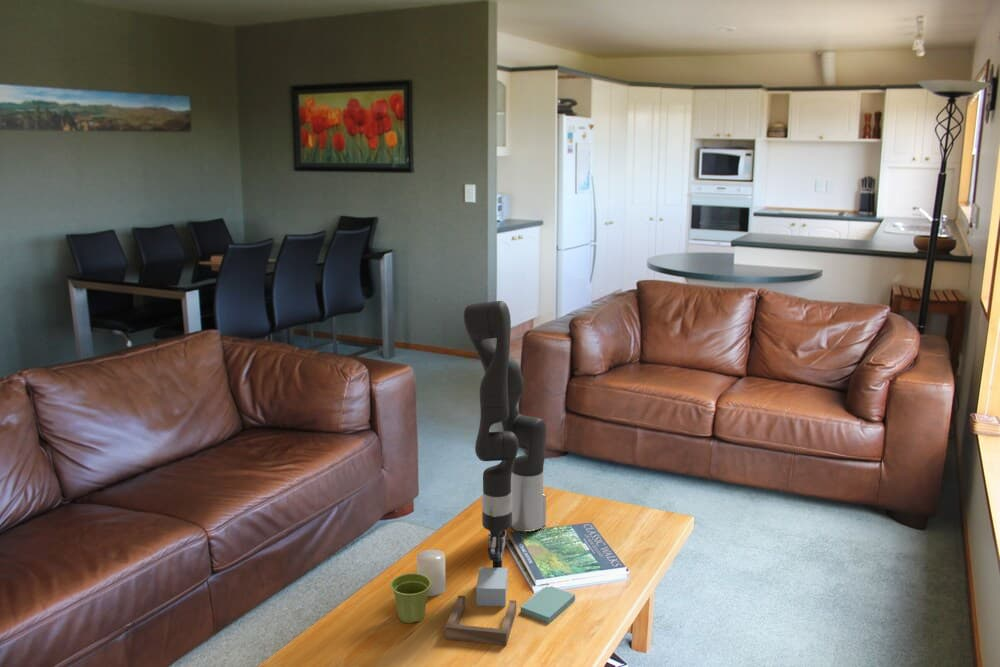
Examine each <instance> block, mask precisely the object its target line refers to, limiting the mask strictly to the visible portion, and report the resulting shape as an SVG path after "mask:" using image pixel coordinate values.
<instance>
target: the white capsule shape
mask: <svg viewBox="0 0 1000 667" xmlns="http://www.w3.org/2000/svg"><path fill="white" fill-rule="evenodd" d="M416 570H417V572H416V573H418V574H422V575H425V576H427V577H428V578H429V579H430V581H431V586H430V588H429V591H428V593H427V597H436V596H440V595H443V594H444V593H445V592H446V590H447V587H446V586H447V584H446V583H447V582H446V581H447V580H446V555H445V553H444V552H443V551H441V550H439V549H433V548H431V549H430V548H429V549H425V550H421V551H420V552H418V553H417V555H416Z"/></svg>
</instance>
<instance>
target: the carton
mask: <svg viewBox="0 0 1000 667" xmlns="http://www.w3.org/2000/svg"><path fill="white" fill-rule="evenodd" d="M478 569H479V570H478V573H477V574H478V575H477V576H478V577H477V582H476V588H475V589H476V595H475V597H476V607H506V603H507V592H508V567H502V568H494V567H493V566H492V567H490V566H487V567H486V566H485V567H483V566H482V567H481V566H480V567H479V568H478Z"/></svg>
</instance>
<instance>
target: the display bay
mask: <svg viewBox="0 0 1000 667" xmlns="http://www.w3.org/2000/svg"><path fill="white" fill-rule="evenodd" d="M465 608H466V596H465V595H458V596H457V598H456V601H455V604H454V606H453V608H452V610H451V613H450V615H449V618H448V620H447V621H446V624H445V626H444V632H445V633H444V634H445V638H444V639H445V640H451V641H459V642H460V641H461V642H471V643H477V644H478V643H479V644H489V645H499V646H507V645H508V641H509V638H510V635H511V631H512V628H513V625H514V621H515V617H516V614H517V600H513V599H512V600H511V599H510V600H509V602H508V604H507V609H506V612H505V615H504V618H503V620H502V624H501V628H496V627H495V628H494V627H488V626H487V627H484V626H475V625H474V626H473V625H466V624H459V623H460V620H461V618H462V616H463V613H464V610H465Z"/></svg>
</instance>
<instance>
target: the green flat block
mask: <svg viewBox="0 0 1000 667" xmlns="http://www.w3.org/2000/svg"><path fill="white" fill-rule="evenodd" d="M550 586H551V587H545V586H544V587H545V588H544V587H542V588H541V589H540V590H539V591H538V592H537V593H536V594H534V595H533V596H531V598H529V599H528V600H527V601H526V602H525V603H523V604H522V605H521V606H520V613H521V614H524V615H526V616H530V617H531V618H534V619H537V620H539V621H542V622H545V623H547V624H550V623H551V622H553V621H554V619H556V618H557V617H558V616H559V615H561V613H562V612H564V611H565V610H566V609H567V608H568V607H569V606H570V605H571V604H572V603H573V602H575V601H576V594H574V593H571V592H569V591H566V590H563V589H560V588H558V587H554V586H552V585H550Z"/></svg>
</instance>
